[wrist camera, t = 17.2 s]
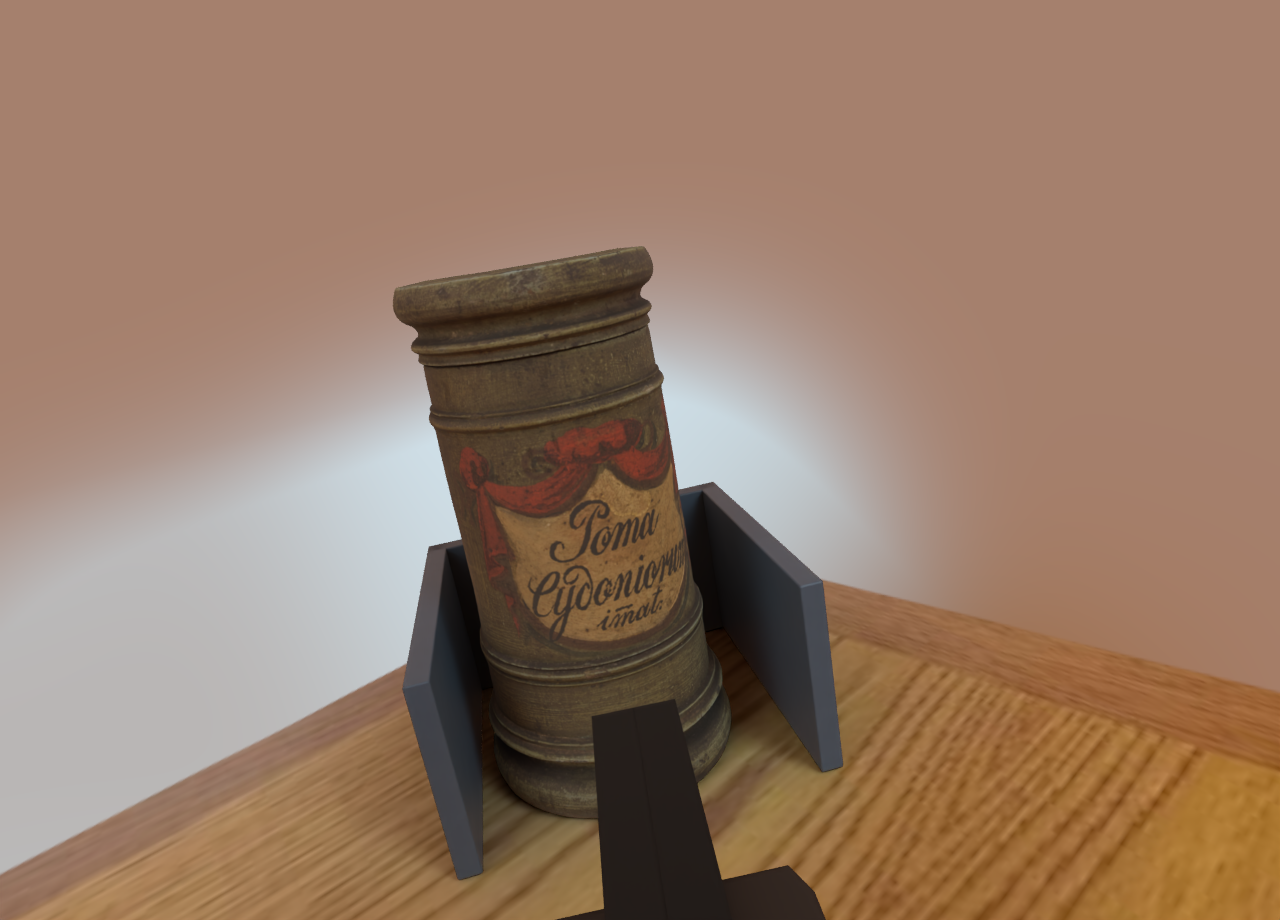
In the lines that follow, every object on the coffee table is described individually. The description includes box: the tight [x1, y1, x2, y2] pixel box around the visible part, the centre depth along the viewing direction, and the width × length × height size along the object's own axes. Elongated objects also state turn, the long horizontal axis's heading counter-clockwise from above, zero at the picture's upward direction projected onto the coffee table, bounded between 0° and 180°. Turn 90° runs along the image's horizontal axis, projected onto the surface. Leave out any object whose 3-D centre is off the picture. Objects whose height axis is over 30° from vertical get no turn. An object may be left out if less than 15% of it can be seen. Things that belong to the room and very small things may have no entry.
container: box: [393, 246, 731, 818], centre depth 27 cm, size 9×9×18 cm
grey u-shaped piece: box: [402, 482, 843, 880], centre depth 29 cm, size 12×13×7 cm
